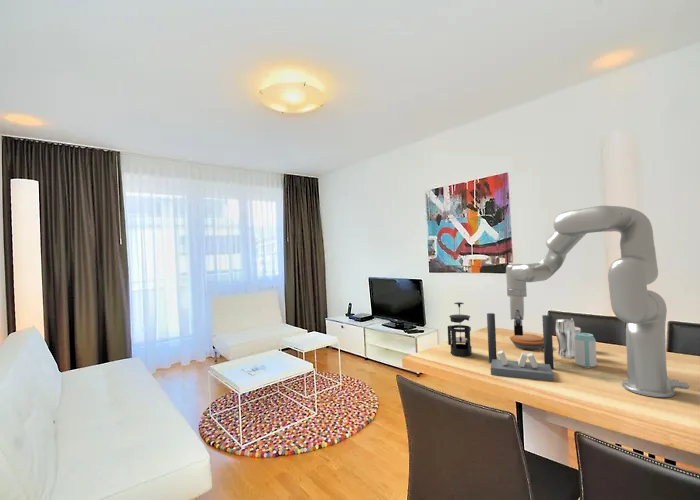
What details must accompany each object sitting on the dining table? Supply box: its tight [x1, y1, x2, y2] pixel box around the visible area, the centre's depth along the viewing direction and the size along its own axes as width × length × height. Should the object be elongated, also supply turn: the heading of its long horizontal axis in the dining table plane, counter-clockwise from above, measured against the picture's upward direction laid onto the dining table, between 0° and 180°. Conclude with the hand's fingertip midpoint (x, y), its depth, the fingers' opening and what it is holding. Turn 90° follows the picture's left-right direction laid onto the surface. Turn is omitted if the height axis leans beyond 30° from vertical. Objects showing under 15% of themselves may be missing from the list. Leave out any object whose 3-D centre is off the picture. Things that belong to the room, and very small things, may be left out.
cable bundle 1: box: [486, 312, 498, 364], centre depth 140 cm, size 3×3×20 cm
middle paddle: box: [518, 351, 528, 368], centre depth 127 cm, size 2×4×4 cm, turn 155°
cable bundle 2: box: [541, 314, 555, 370], centre depth 132 cm, size 3×3×20 cm
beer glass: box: [555, 318, 576, 359], centre depth 145 cm, size 7×7×15 cm
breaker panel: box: [490, 358, 554, 382], centre depth 128 cm, size 20×11×2 cm, turn 65°
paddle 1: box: [497, 349, 509, 365], centre depth 130 cm, size 2×4×4 cm, turn 155°
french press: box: [447, 301, 473, 358], centre depth 154 cm, size 12×9×23 cm
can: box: [574, 332, 598, 369], centre depth 133 cm, size 7×7×12 cm
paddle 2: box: [526, 352, 538, 368], centre depth 126 cm, size 2×4×4 cm, turn 155°
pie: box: [509, 333, 544, 351], centre depth 161 cm, size 16×16×5 cm
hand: (518, 332), depth 147 cm, fingers open, 9 cm apart
